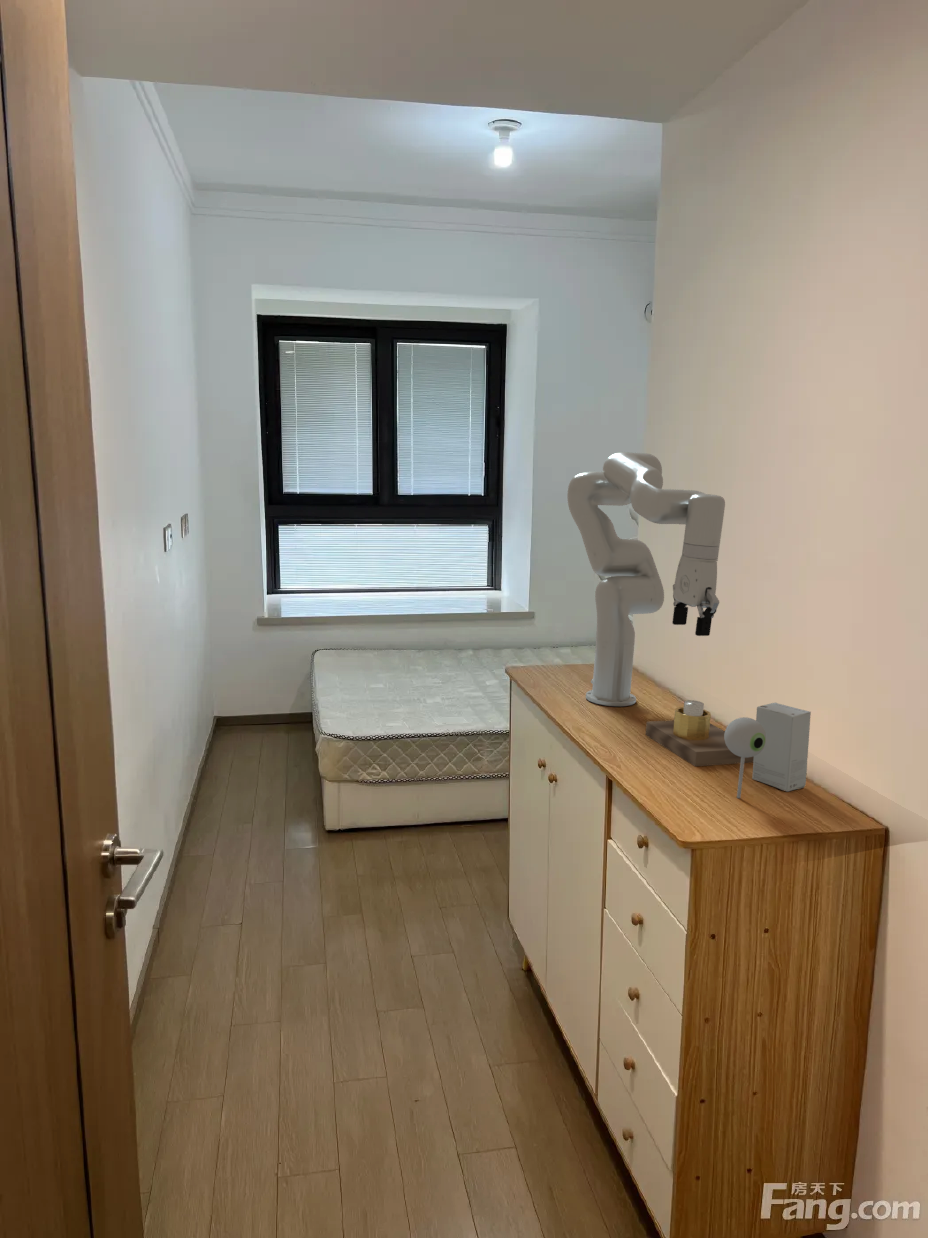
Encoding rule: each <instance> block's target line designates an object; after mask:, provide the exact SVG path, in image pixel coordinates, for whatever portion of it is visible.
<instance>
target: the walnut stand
mask: <svg viewBox="0 0 928 1238" xmlns="http://www.w3.org/2000/svg"><path fill="white" fill-rule="evenodd" d="M645 724H646V726H645V733H644V734H645V736H647V737H649V738H650V740H652V741H654V742H656V743H658V744H659V745H661V746H663V747H664V748H665V749H667V750H668V751H670V752H671V753H673V754H675V755H676V756H677V757H680V758H681V759H683V760H684V761H686V762H687V763H689V764H691V765H693V766H694V767H704V766H706V767H707V766H717V765H734V764H740V762H741V757H739V756H737V755H735V754H733V753H732V752H731V751H730V750H729V749H728V747H727V746H726V743H725V739H724V734H725V730H723V729H722V728H720V727H718V726H716V725H714V724H712V723H711V722H710V728H709V738H707V739H705V740H688V739H684V738H680V737H677V736H676V735H674V734H673V728H674V719H673V720H671V719H670V720H655V721H653V720H652V721H646V723H645ZM753 760H754V756H753V757H748V758H745V761H744V764H745V763H746V764H747V763H753Z"/></svg>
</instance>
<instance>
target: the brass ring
mask: <svg viewBox="0 0 928 1238" xmlns="http://www.w3.org/2000/svg"><path fill="white" fill-rule="evenodd" d="M683 710H684V706H679V707H677V708H675V709H674V719H673V720H674V728H673V734H674V735H676V736H677V737H680V738H684V739H688V740H705V739H707V738H709V728H710V723H711V717H712V714H711V712H710V711H708V710H707V709H704V708H703V716H689V715H685V714H683Z"/></svg>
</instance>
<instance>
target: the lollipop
mask: <svg viewBox="0 0 928 1238" xmlns="http://www.w3.org/2000/svg"><path fill="white" fill-rule="evenodd" d="M724 731H725V734H724V739H725V743H726V746H727V747H728V749H729V750H730V751H731V752H732V753H733V754H735V755H737V756H739V757H741V762H740V763H739V773H738V780H737V781H738V782H737V790H736V791H737V792H736V799H741V795H742V788H743V780H744V779H743V777H744V769H745V763H744V761H745V758H748V757H753V756H755V755H757V754H759V753H760V752H761V751H762V750H763V749H764V747H765V744H766V733H765V730H764V728H763V727H762V725H761V724H760V723H758V722H757V721H756V719H753V718H750V717H739V718H735V719H734V720H732V721H731V722H729V724H728V725H726V728H725V730H724Z"/></svg>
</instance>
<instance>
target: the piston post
mask: <svg viewBox="0 0 928 1238" xmlns="http://www.w3.org/2000/svg"><path fill="white" fill-rule="evenodd" d="M683 702H684V703H683V707H684V710H683V714H685V715H689V716H703V709H704V708H705V706H704V705H705V704H704V703H703V702H702V701H698V700H695V699H694V700H692V699H691V700H689V699H687V700H684V701H683Z"/></svg>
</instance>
